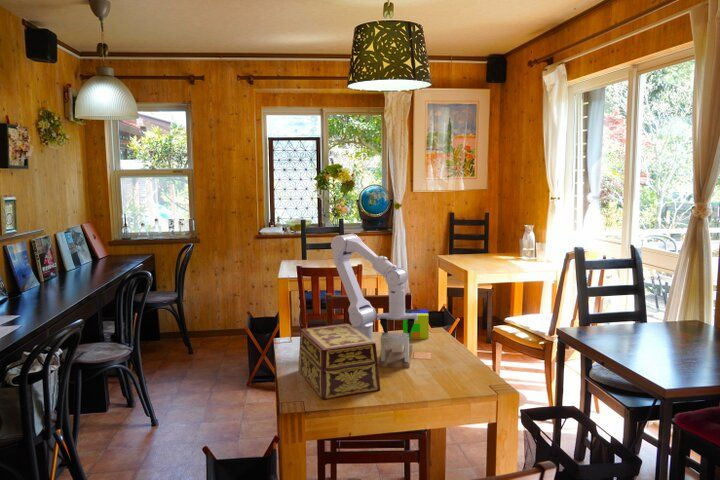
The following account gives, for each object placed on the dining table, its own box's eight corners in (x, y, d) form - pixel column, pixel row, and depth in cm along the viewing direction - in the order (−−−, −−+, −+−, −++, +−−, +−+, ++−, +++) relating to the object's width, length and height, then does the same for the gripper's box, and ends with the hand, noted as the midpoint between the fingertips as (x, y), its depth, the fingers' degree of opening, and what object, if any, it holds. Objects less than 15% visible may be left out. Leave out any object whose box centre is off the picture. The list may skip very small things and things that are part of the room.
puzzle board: (379, 368, 188) (379, 362, 188) (385, 349, 208) (385, 344, 208) (409, 369, 187) (409, 363, 187) (412, 350, 207) (412, 345, 206)
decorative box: (298, 371, 188) (296, 327, 186) (349, 363, 195) (348, 321, 193) (322, 401, 162) (321, 351, 161) (380, 391, 169) (380, 343, 167)
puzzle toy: (427, 333, 230) (427, 309, 229) (428, 340, 220) (428, 315, 219) (403, 332, 231) (403, 309, 230) (403, 339, 221) (403, 315, 220)
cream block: (391, 355, 200) (391, 336, 199) (392, 352, 204) (392, 333, 203) (402, 356, 199) (402, 337, 198) (403, 352, 203) (403, 333, 202)
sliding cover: (381, 361, 189) (380, 337, 188) (382, 355, 195) (382, 332, 194) (408, 362, 188) (408, 338, 187) (409, 356, 193) (409, 333, 193)
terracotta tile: (413, 360, 196) (413, 358, 196) (414, 353, 203) (414, 352, 203) (430, 360, 195) (430, 358, 195) (431, 354, 202) (431, 352, 202)
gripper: (375, 304, 196) (376, 342, 198) (416, 305, 194) (417, 342, 196) (377, 300, 203) (378, 336, 205) (417, 300, 201) (418, 337, 203)
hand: (397, 339), depth 201 cm, fingers open, 7 cm apart
